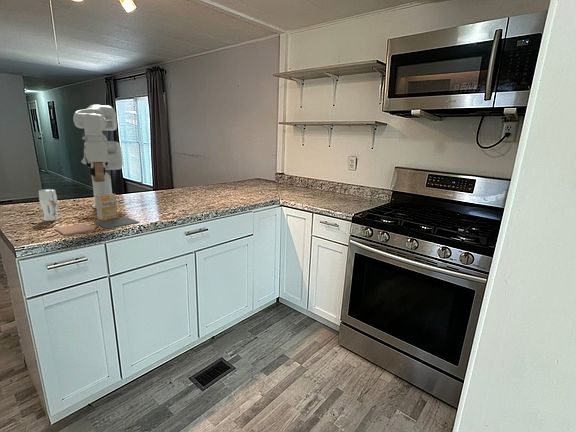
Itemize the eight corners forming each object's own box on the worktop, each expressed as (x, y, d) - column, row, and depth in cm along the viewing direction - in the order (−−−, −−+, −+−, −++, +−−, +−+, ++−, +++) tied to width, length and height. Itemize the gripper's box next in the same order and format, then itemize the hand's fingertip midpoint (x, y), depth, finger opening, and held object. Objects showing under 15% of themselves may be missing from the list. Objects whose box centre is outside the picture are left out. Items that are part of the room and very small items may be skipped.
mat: (94, 223, 153) (94, 222, 153) (127, 217, 165) (127, 217, 165) (105, 228, 145) (105, 228, 145) (139, 222, 157) (139, 221, 157)
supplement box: (103, 221, 157) (100, 196, 154) (97, 219, 159) (94, 194, 156) (118, 218, 164) (116, 193, 161) (113, 216, 166) (110, 192, 163)
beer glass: (51, 221, 153) (46, 191, 149) (39, 220, 154) (34, 190, 150) (63, 218, 159) (59, 189, 155) (51, 217, 160) (47, 188, 157)
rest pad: (55, 229, 141) (55, 228, 141) (85, 224, 150) (85, 223, 150) (64, 235, 134) (64, 234, 133) (95, 230, 143) (95, 228, 143)
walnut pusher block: (93, 181, 162) (91, 161, 159) (101, 180, 165) (99, 161, 163) (96, 182, 160) (94, 162, 157) (104, 181, 163) (102, 162, 160)
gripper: (78, 139, 148) (83, 177, 153) (114, 139, 161) (118, 175, 166) (72, 138, 153) (77, 175, 157) (108, 139, 166) (111, 173, 170)
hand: (98, 175), depth 162 cm, fingers closed on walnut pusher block, 4 cm apart
